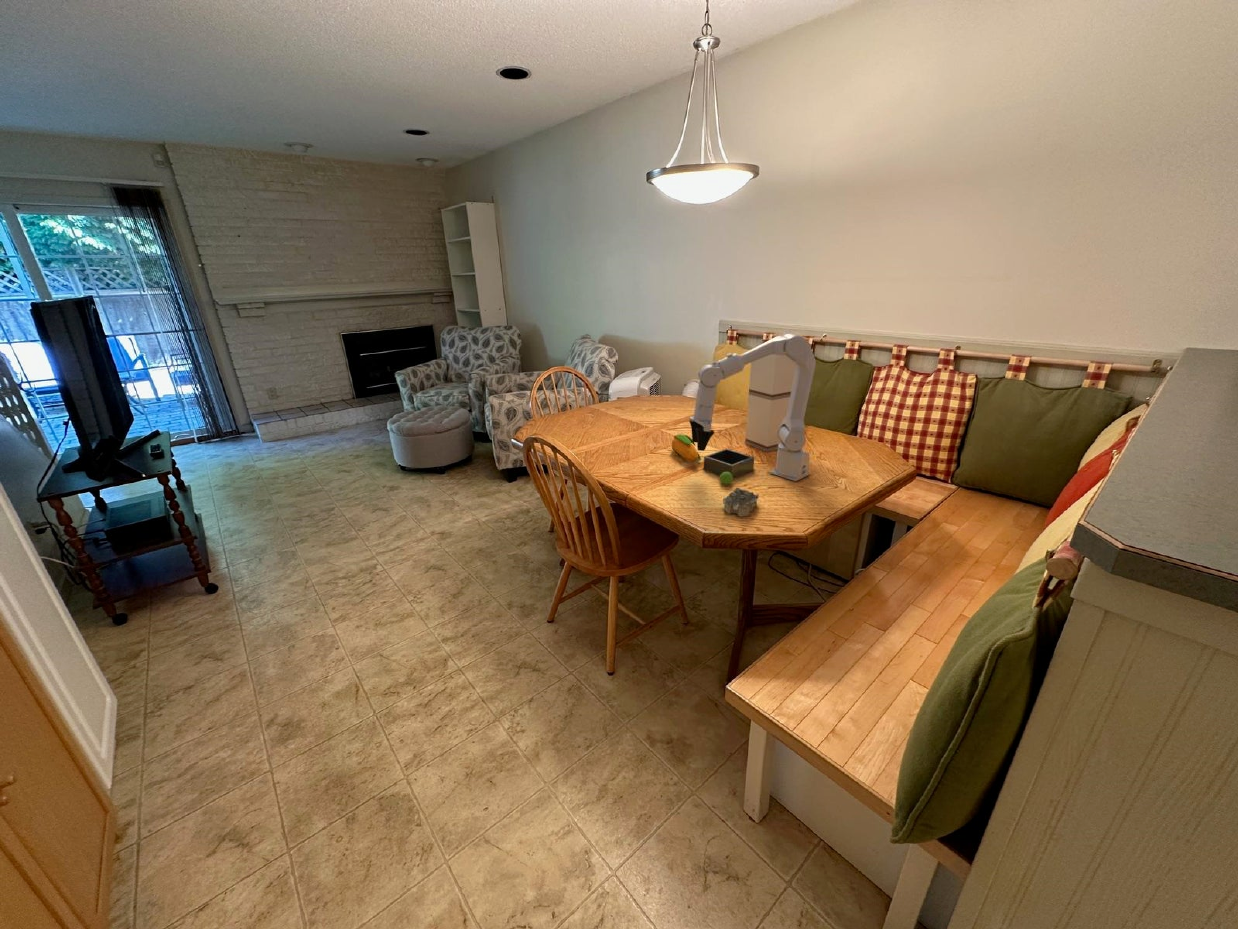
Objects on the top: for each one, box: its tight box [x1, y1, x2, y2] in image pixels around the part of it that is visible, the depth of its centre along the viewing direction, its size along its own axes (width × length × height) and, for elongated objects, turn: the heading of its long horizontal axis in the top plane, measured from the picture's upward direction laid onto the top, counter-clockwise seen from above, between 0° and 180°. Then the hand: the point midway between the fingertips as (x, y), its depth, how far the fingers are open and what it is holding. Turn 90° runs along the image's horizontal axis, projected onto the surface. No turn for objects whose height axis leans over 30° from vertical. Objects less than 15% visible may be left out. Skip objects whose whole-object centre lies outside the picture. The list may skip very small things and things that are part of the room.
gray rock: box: [722, 486, 760, 517], centre depth 132 cm, size 11×8×4 cm
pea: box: [719, 472, 734, 486], centre depth 147 cm, size 4×4×4 cm
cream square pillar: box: [744, 354, 796, 453], centre depth 175 cm, size 11×11×35 cm
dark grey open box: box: [703, 448, 755, 479], centre depth 158 cm, size 12×12×5 cm
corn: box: [671, 433, 702, 462], centre depth 169 cm, size 7×8×20 cm
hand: (698, 446), depth 152 cm, fingers open, 7 cm apart
